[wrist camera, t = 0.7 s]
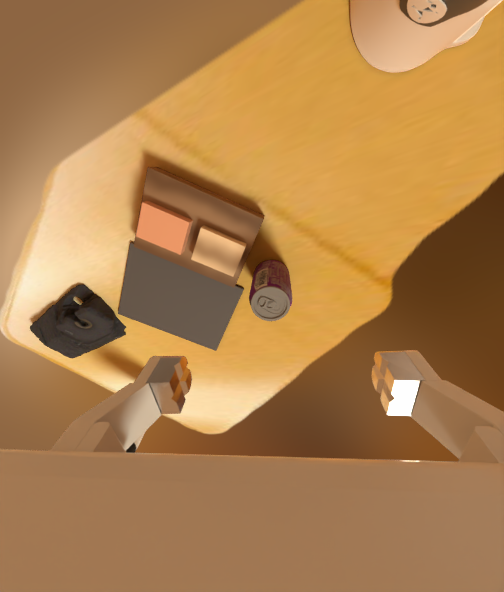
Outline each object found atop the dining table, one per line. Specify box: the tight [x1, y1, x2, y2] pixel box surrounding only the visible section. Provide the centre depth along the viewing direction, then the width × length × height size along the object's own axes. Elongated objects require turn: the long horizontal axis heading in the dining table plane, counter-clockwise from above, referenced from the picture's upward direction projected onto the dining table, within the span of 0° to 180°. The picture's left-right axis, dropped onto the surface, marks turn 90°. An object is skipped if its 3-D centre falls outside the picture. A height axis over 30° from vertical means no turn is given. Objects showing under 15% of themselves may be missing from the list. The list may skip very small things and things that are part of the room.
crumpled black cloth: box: [30, 285, 126, 358], centre depth 57 cm, size 15×22×5 cm
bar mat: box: [118, 242, 244, 351], centre depth 53 cm, size 18×24×1 cm
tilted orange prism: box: [136, 201, 193, 255], centre depth 42 cm, size 6×8×2 cm
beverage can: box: [249, 260, 292, 321], centre depth 44 cm, size 7×7×12 cm
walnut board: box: [134, 167, 264, 288], centre depth 44 cm, size 14×20×4 cm
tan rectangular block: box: [191, 225, 247, 277], centre depth 43 cm, size 6×8×2 cm
